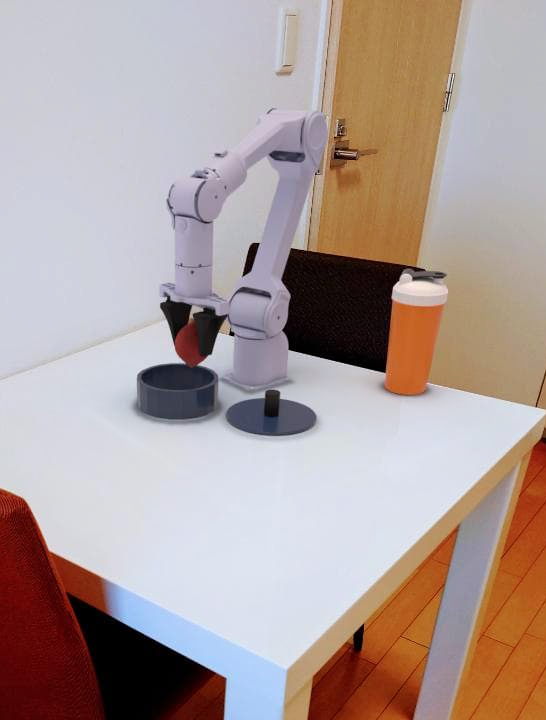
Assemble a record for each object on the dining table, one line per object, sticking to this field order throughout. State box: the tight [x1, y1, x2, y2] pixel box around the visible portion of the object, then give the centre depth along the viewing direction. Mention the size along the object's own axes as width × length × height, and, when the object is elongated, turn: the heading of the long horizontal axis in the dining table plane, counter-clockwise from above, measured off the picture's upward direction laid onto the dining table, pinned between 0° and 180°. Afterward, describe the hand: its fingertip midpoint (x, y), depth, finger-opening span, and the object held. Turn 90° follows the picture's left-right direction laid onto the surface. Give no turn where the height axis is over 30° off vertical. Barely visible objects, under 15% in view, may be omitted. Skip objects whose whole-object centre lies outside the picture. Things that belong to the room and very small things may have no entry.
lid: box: [226, 389, 317, 437], centre depth 129 cm, size 14×14×5 cm
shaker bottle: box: [384, 268, 449, 396], centre depth 138 cm, size 9×9×20 cm
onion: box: [174, 317, 209, 367], centre depth 129 cm, size 6×6×8 cm
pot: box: [136, 362, 219, 421], centre depth 134 cm, size 13×13×5 cm
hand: (192, 350), depth 130 cm, fingers closed on onion, 6 cm apart
